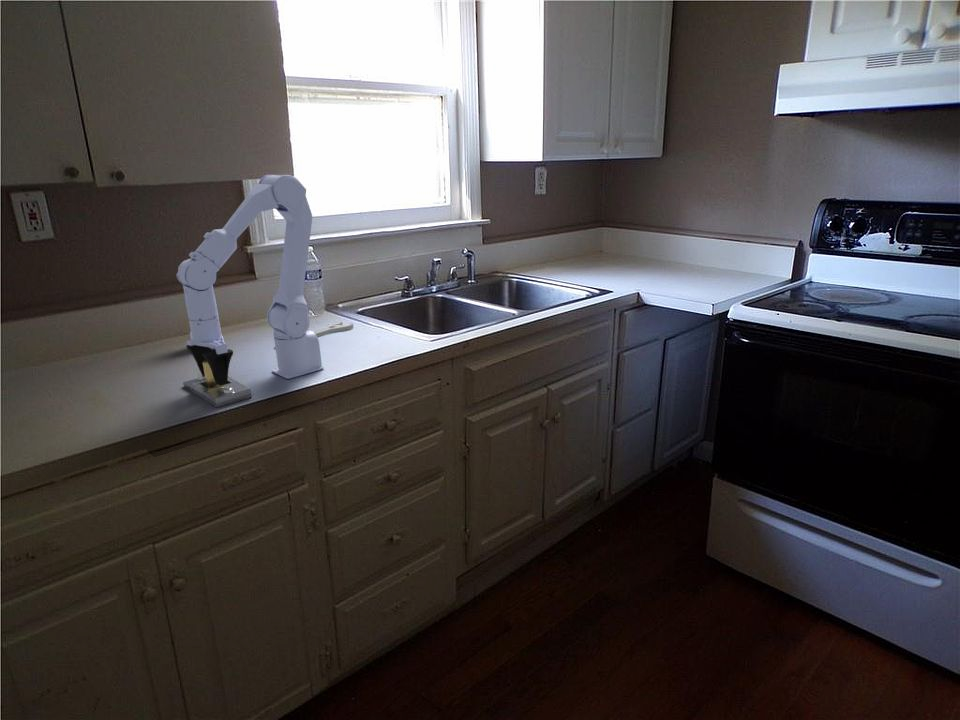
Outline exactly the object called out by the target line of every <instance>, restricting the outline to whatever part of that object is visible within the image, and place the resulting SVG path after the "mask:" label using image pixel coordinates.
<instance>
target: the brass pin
mask: <svg viewBox="0 0 960 720" xmlns="http://www.w3.org/2000/svg"><path fill="white" fill-rule="evenodd" d="M203 368H204V373H205V379H206V384H207V389H211V388H215V387H218V386H222V385H225V383H222V384H216V382H215V380H214V377H213V374H212V371H211V368H210V366H209V364H208V362H207V361H206V360H205V361H203Z"/></svg>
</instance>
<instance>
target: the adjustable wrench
mask: <svg viewBox="0 0 960 720" xmlns="http://www.w3.org/2000/svg"><path fill="white" fill-rule="evenodd" d="M352 329H353V330H354V323H353V322H352V321H351V322H349V323H348V324H343V321H337V322H333V323H330V324H327V326H326V327H324V328H321V329H318V330H315V331H313V332H314V333H315V334H316V336H317V338H319V337H323V336H327V335H329V334H334V333H339V332H345V331H346V332H348V331H351V330H352Z"/></svg>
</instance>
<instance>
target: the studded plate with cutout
mask: <svg viewBox="0 0 960 720" xmlns="http://www.w3.org/2000/svg"><path fill="white" fill-rule="evenodd" d="M182 384H183V387H184V388H185V389H188V390H189V391H190V392H192V393H193V394H195V395H196V396H198V397H199V396H200V397H199V398H201V399H202V398H203V400H204V401H205V400H206V402H207V401H208V402H207V403H208V404H210V403H211V404H210V405H212V406H213V405H214V406H213V407H215V406H216V407H218V408H220V407H219V406H221V407H224V406H223V405H225V406H227V405H226V404H228V405H231V404H230V403H232V404H234V403H233V402H235V403H238V402H241V401H240V400H242V401H244V400H243V399H245V400H248V399H251V398H250V397H252V391H251V388H250V387H248V386H246V385H244V384H242V383H241V382H239V381H237V380H235V378H232V377H230V376H228V379H227V382H226V383H225V385H222V386H218V387H215V388H211V389H207V384H206V379H205V376H202V374H201V372H198V373H197V378H194V379H190V380H186V381H183V383H182ZM247 398H248V399H247ZM237 401H238V402H237ZM216 407H215V408H216Z"/></svg>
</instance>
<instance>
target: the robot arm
mask: <svg viewBox="0 0 960 720" xmlns="http://www.w3.org/2000/svg"><path fill="white" fill-rule="evenodd" d="M240 203H241V204H240V205H239V206H238V207H237V209H236V211H234V213H232V215H231V217H229V219H228V221H227V222H226V224H225V225H224V226H223V227H222V228H218V229H213V230H211V232H206V233H204V235H203V238H204V240H203V241H202V243H200V245H199V246H198V247H197V248H196V249H195V251H191V252H190V253H189V254H188V256H189V257H190V258H188V259H185V260H183V261H182V262H180V264H179V265H178V268H177V270H178V271H177V273H176V279H177V280H178V281H179V283H180V284H181V285H182V289H183V293H184V301H185V306H186V311H187V317H188V318H187V319H188V323H189V329H190V332H189V336H190V337H189V338H190V339H189V340H187V341H186V346H185V347H186V349H187V351H189V352H190V354H191V355H192V357H193V359H194V361H195V363H196V365H197V367H198V370H199V373H201V374H202V376H205V373H204V368H203V361H205V360H206V361H207V362H208V364H209V366H210V368H211V371H212V374H213V377H214V380H215V382H216V384H222V383H226V382H227V379H228V377H229V369H230V362H231V360H232V357H233V355H234V350H233V349H230V348H229V349H228V346H227V343H226V342H225V340H224V336H223V334H222V330H221V323H220V319H219V318H220V317H219V312H218V306H217V305H218V304H217V301H216V300H217V299H216V294H215V290H214V284H215V283H216V280H217V272H219V271H220V269H221V268H222V267H223V266H224V264H225V263H226V262H227V261H228V260H229V259H230V257H231V256H232V255H233V254H234V252H236V250H237V248H238V244H237V240H238V238H240V236H241V235H242V234H243V233H244V231H245V230H247V228H248V227H249V226H250V225H251V224H252V223H253V222H254V221H255V220H256V218H257V217H258V216H259V215H260V214H262V213H263V212H266V211H270V210H277V212H278V213H279V214H280V216H281V217H283V219H284V220H285V222H286V223H285V230H284V231H285V232H284V234H285V235H284V240H283V249H282V259H281V268H280V274H279V282H278V283H279V285H278V291H277V293H275V295H274V296H273V297H272V303H271V306H270V307H269V309H268V311H267V313H266V321H267V323H268V325H269V326H270V327H271V328H272V329H273V342H274V348H275V354H276V355H275V356H276V363H277V367H275V368H272V369H271V372H272V373H274V374H276V375H278V376H280V377H282V378H284V379H286V380H289V379H293V378H296V377H300V376H303V375H308V374H311V373H314V372H317V371H318V372H319V371H321V370H324V369H325V368H324V366H323V365H322V355H321V348H320V341H319V337H317V336H316V334H315V333H314V331H313V330H312V329H311V330H309V327H310V323H311V322H310V318H309V315H308V302H307V301H306V299H305V297H304V291H305V290H304V289H305V281H306V273H307V264H308V258H309V257H308V256H309V248H310V241H311V232H312V225H313V214H312V210H311V208H310V205H309V202H308V199H307V188H306V187H305V186H304V185H303V184H302V183H301V182H300V180H299V179H297V178H296V177H295V176H293V175H290V174H283V175H279V174H278V175H277V174H266V175H264V176H263V177H261V178H260V179H259V181H258V183H255V184H254V185H253V186H252V187H251V189H250V190H249V193H248V194H247V196H246V197H245V198H244V199H243V201H242V202H240Z"/></svg>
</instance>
